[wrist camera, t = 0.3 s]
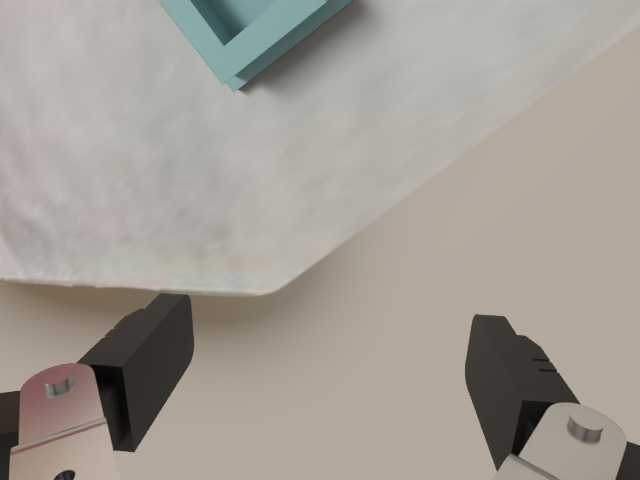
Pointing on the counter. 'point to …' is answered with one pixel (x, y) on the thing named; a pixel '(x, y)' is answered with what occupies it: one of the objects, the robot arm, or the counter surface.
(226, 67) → the socket
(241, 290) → the counter surface
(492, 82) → the counter surface
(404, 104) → the counter surface
